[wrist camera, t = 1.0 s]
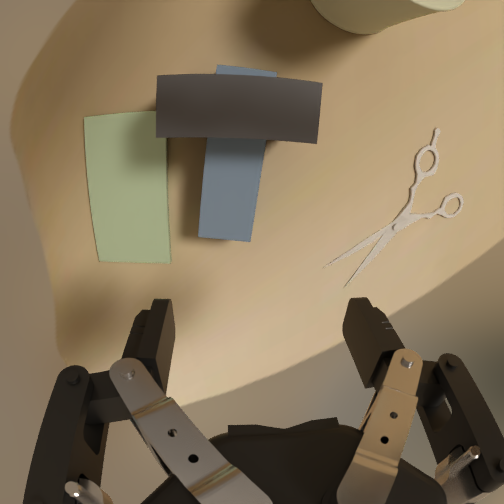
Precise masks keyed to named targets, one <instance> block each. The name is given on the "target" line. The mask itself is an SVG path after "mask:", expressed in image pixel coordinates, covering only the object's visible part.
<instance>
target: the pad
mask: <svg viewBox="0 0 504 504" xmlns="http://www.w3.org/2000/svg"><path fill="white" fill-rule="evenodd" d="M84 134H85V154H86V167H87V179H88V189H89V198H90V206H91V214H92V221H93V227H94V234H95V240H96V246H97V251H98V257H99V261H106V262H135V263H167V264H171V246H170V230H169V209H168V178H167V138H156V111H142V112H128V113H117V114H106V115H97V116H89V117H84Z"/></svg>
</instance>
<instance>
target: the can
mask: <svg viewBox="0 0 504 504" xmlns="http://www.w3.org/2000/svg"><path fill="white" fill-rule="evenodd" d="M464 1H465V0H311V2H312V4H313V5H314V7H315V8H316V10H317V11H318V12H319V13H320V14H321V15H322V16H323V17H324V18H325V19H326V20H328V21H329V22H330V23H332V24H333V25H335V26H337V27H339V28H341V29H343V30H345V31H348V32H352V33H356V34H375V33H378V32H381V31H383V30H385V29H386V28H388V27H390V26H393V25H395V24H398V23H401V22H404V21H408V20H411V19H414V18H417V17H421V16H425V15H428V14H432V13H436V12H441V11H451V10H453V9H456V8H458V7H459V6H460V5H462V3H463V2H464Z"/></svg>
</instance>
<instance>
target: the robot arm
mask: <svg viewBox="0 0 504 504" xmlns="http://www.w3.org/2000/svg"><path fill="white" fill-rule="evenodd" d="M343 336H344V338H345V341H346V343H347V346H348V348H349V350H350V353H351V355H352V357H353V360H354V362H355V365H356V367H357V369H358V372H359V374H360V377H361V379H362V382H363V384H364V387H365V388H371V387H374V388H375V390H376V391H375V393H374V395H373V397H372V400H371V402H370V404H369V407H368V409H367V411H366V413H365V416H364V418H363V420H362V422H361V424H360V426H359V428H358V429H356V428H353V427H350V426H347V425H340V424H339V423H338V420H337V417H334V418H327V419H320V420H311V421H309V422H305V423H302V424H300V425H296V426H293V427H290V428H286V429H280V428H273V427H267V426H261V425H228V432H227V433H223V434H220V435H217V436H214V437H212V438H210V439H209V440H208V439H207V438H206V437H205V436H204V435H203V434H202V433H201V432H200V430H199V429H198V428H197V427H196V426H195V425H194V424H193V422H192V421H191V420H190V419H189V418H188V416H187V415H186V414H185V413H184V412H183V410H182V409H181V408H180V407H179V405H178V404H177V403H176V402H175V400H174V399H173V398H171V397H169V398H168V397H167V396H166V390H167V384H168V377H169V371H170V365H171V359H172V353H173V347H174V341H175V323H174V315H173V308H172V301H171V299H154V300H153V303H152V306H151V309H150V310H142V311H141V312H140V313H139V314H138V315H137V316H136V317H135V320H134V323H133V327H132V328H131V331H130V334H129V337H128V340H127V343H126V346H125V349H124V352H123V355H122V358H121V359H120V360H118V361H116V362H115V363H114V364H113V365H112V366H111V368H110V370H108V371H104V372H98V373H92V374H89V373H88V371H87V370H86V369H85V368H84V367H82V366H77V365H74V366H69V367H67V368H65V369H63V370H62V371H61V372H60V374H59V375H58V377H57V380H56V383H55V386H54V389H53V391H52V394H51V397H50V400H49V403H48V406H47V409H46V412H45V416H44V418H43V422H42V425H41V428H40V432H39V435H38V439H37V443H36V446H35V450H34V454H33V458H32V462H31V466H30V471H29V475H28V479H27V484H26V489H25V494H24V500H23V504H113V501H112V499H111V498H110V496H109V495H108V494H107V493H105V492H104V491H103V490H102V489H101V488H100V484H101V476H102V468H103V461H104V453H105V447H106V441H107V434H108V428H109V423H110V422H116V421H122V420H128V419H130V421H131V422H132V424H133V425H134V427H135V429H136V430H137V432H138V433H139V435H140V436H141V438H142V439H143V441H144V442H145V444H146V445H147V447H148V448H149V450H150V451H151V453H152V454H153V456H154V458H155V459H156V461H157V462H158V464H159V465H160V466H161V468H162V469H163V470H164V472H165V473H166V474H167V475H168V478H167V479H166V480H165V481H164V482H163V483H162V484H161V485H160V486H159V487H158V488H157V489H156V490H155V491H154V492H153V493H152V494H150V495H149V496H148V497H147V498H146V499H145V500H144V501H143V502H142V503H141V504H474V503H476V502H477V501H479V500H481V499H482V498H484V497H485V496H487V495H489V494H490V493H491V492H493V491H495V490H496V489H498V488H499V487H500V486H502V485H503V484H504V438H503V435H502V434H501V431H500V429H499V427H498V425H497V423H496V422H495V419H494V417H493V415H492V413H491V411H490V409H489V408H488V406H487V404H486V402H485V400H484V398H483V396H482V394H481V393H480V391H479V389H478V387H477V386H476V384H475V382H474V380H473V378H472V377H471V375H470V373H469V372H468V370H467V368H466V367H465V365H464V363H463V362H462V360H461V359H460V358H459V357H457V356H456V355H453V354H449V353H446V354H443V355H441V356H440V357H439V359H438V361H437V362H433V361H423V360H422V359H421V357H420V356H419V355H418V354H417V353H416V352H414V351H413V350H410V349H405V347H404V345H403V343H402V342H401V340H400V338H399V337H398V335H397V333H396V332H395V330H394V329H393V327H392V325H391V324H390V323H389V320H388V319H387V317H386V315H385V314H384V313H383V312H382V311H381V310H379V309H378V308H377V307H373V306H372V305H371V303H370V301H369V300H368V298H366V297H362V298H351V299H350V300H349V303H348V307H347V311H346V314H345V318H344V322H343ZM445 398H447V400H448V402H449V404H450V406H451V408H452V415H451V412H450V410H449V408H448V406H447V404H446V402H445ZM415 409H417V411H418V414H419V416H420V419H421V421H422V424H423V426H424V429H425V432H426V434H427V437H428V440H429V442H430V445H431V448H432V450H433V453H434V456H435V459H436V462H437V465H438V466H437V467H436V470H435V478H434V479H433V478H431V477H430V476H428V475H426V474H425V473H423V472H422V471H420V470H419V469H417V468H415V467H414V466H412V465H411V464H409V463H408V462H406V461H405V460H403V459H402V458H400V457H401V455H402V452H403V449H404V445H405V443H406V440H407V437H408V434H409V430H410V427H411V424H412V420H413V417H414V413H415Z"/></svg>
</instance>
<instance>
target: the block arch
mask: <svg viewBox="0 0 504 504" xmlns="http://www.w3.org/2000/svg"><path fill="white" fill-rule="evenodd" d="M321 95H322V83H319V82H312V81H305V80H297V79H288V78H278V77H267V76H253V75H232V74H178V75H158V76H157V93H156V138H172V137H215V138H246V139H264V140H279V141H291V142H303V143H313V144H317V137H318V127H319V117H320V106H321Z"/></svg>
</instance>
